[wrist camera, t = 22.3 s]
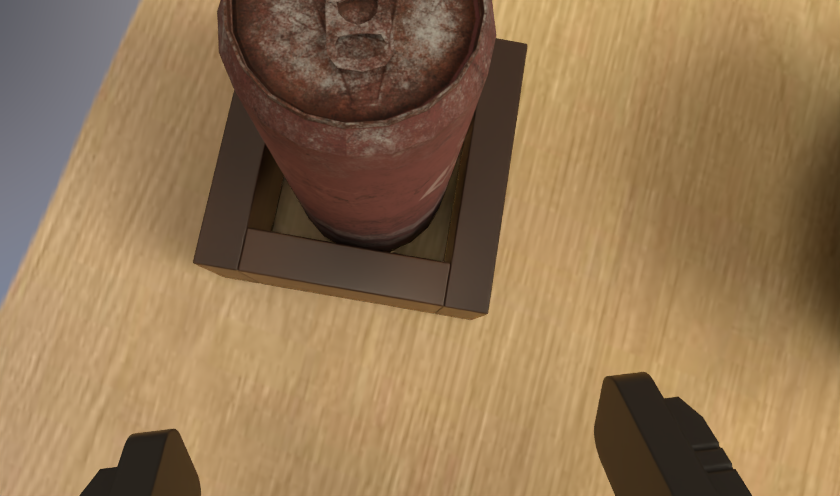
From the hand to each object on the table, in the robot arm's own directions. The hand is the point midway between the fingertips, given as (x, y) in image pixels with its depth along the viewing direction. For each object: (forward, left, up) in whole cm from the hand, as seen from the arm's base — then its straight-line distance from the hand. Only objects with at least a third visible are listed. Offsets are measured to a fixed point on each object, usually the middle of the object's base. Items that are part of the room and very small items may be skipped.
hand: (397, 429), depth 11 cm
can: (-2, +8, -14) cm, 16 cm away
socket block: (-2, +9, -13) cm, 16 cm away
